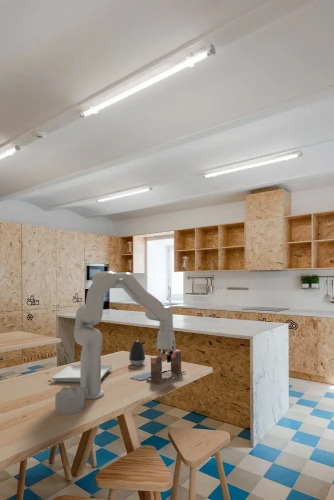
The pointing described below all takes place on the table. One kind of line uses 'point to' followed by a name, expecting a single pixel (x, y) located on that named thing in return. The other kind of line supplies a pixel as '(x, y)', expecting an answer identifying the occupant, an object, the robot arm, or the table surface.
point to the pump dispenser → (137, 353)
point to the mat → (142, 376)
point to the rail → (163, 356)
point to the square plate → (76, 373)
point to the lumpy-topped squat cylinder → (70, 400)
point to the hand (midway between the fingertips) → (166, 361)
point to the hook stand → (175, 371)
